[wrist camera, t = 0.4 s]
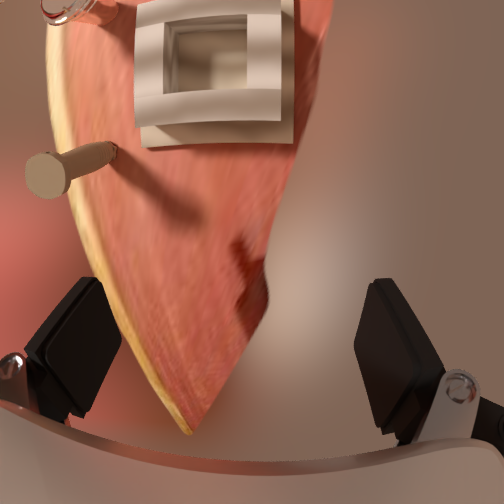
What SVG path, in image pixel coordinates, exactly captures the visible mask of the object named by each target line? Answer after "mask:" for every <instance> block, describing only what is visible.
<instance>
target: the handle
mask: <svg viewBox="0 0 504 504" xmlns="http://www.w3.org/2000/svg"><path fill="white" fill-rule="evenodd" d="M116 150H117V147H116V146H114V145H113V144H112V142H111V141H104V142H94V143H90V144H86V145H83V146H80V147H78V148H76V149H73V150H71V151H68V152H66V153H63V154H61V155H60V154H59V153H57V152H53V151H52V152H42V153H39V154H37V155H35V156H33V157H32V158H30V159H29V160H28V161H27V164H26V169H25V178H26V183H27V186H28V189H29V190H31V191H32V192H33V193H34V194H35V195H36V196H38V197H41V198H44V199H53V198H56V197H58V196H60V195H62V194H64V193H65V192H67V191H68V189H69V187H70V184H71V180H72V179H75V178H78V177H80V176H83V175H86V174H89V173H92V172H94V171H96V170H98V169H100V168H102V167H104V166H105V165H107V164H108V163H109V162H110V161H111V160H114V159H115V158H116V156H117V155H116Z"/></svg>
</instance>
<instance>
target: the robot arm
mask: <svg viewBox="0 0 504 504" xmlns="http://www.w3.org/2000/svg"><path fill="white" fill-rule="evenodd" d="M121 342H122V338H121V334H120V332H119V329H118V326H117V324H116V321H115V319H114V316H113V313H112V311H111V308H110V305H109V302H108V299H107V297H106V294H105V291H104V288H103V285H102V283H101V282H100V281H99V280H98V279H97V278H96V277H82V278H81V279H79V281H78V282H77V283H76V284H75V285H74V286H73V287H72V289H71V290H70V291H69V292H68V293H67V295H66V296H65V297H64V298H63V299H62V300H61V302H60V303H59V304H58V305H57V306H56V308H55V309H54V310H53V311H52V313H51V314H50V315H49V316H48V318H47V319H46V320H45V321H44V323H43V324H42V325H41V326H40V328H39V329H38V330H37V332H36V333H35V334H34V336H33V337H32V338H31V340H30V341H29V342H28V344H27V345H26V346H25V348H24V350H25V352H26V353H27V355H28V357H27V358H26V359H25V357H24V356H23V354H21V353H19V352H13V353H10V354H8V355H6V356H4V357H3V358H2V359H1V360H0V504H504V407H502V406H500V405H498V404H496V403H493V402H491V401H489V400H487V399H485V398H483V397H481V396H480V386H479V383H478V382H477V380H476V379H475V377H474V376H473V375H471V374H470V373H469V372H466V371H465V370H461V369H453V370H450V371H447V372H446V371H445V368H444V367H443V366H444V365H443V363H442V361H441V360H440V358H439V356H438V354H437V352H436V350H435V348H434V347H433V345H432V343H431V341H430V339H429V338H428V336H427V334H426V333H425V331H424V329H423V327H422V326H421V324H420V322H419V321H418V319H417V317H416V316H415V314H414V312H413V311H412V309H411V307H410V306H409V304H408V303H407V301H406V299H405V298H404V296H403V295H402V293H401V292H400V290H399V288H398V287H397V286H396V284H395V283H394V281H393V280H392V279H391V278H381V279H375V280H374V282H373V283H370V284H369V286H368V290H367V295H366V299H365V303H364V307H363V311H362V314H361V318H360V322H359V326H358V329H357V333H356V337H355V340H354V350H355V354H356V357H357V361H358V364H359V367H360V371H361V374H362V377H363V381H364V384H365V388H366V391H367V395H368V399H369V402H370V406H371V410H372V414H373V417H374V421H375V425H376V426H377V427H378V428H379V427H381V431H382V435H385V434H389V433H395V436H396V439H397V441H396V443H395V444H394V446H393V448H389V449H384V450H379V451H374V452H368V453H362V454H357V455H349V456H341V457H334V458H324V459H314V460H300V461H276V462H274V461H273V462H259V461H257V462H256V461H253V462H252V461H231V460H217V459H206V458H197V457H190V456H182V455H176V454H170V453H164V452H158V451H154V450H149V449H144V448H140V447H135V446H131V445H127V444H123V443H119V442H116V441H112V440H108V439H105V438H101V437H98V436H95V435H92V434H89V433H86V432H83V431H80V430H77V429H75V428H72V427H71V425H70V421H69V418H68V414H69V412H70V413H71V414H72V415H74V416H77V417H80V418H83V419H84V416H85V414H86V412H88V411H89V410H90V409H91V407H92V404H93V402H94V400H95V398H96V396H97V393H98V391H99V389H100V387H101V384H102V382H103V380H104V378H105V376H106V374H107V372H108V370H109V368H110V366H111V363H112V361H113V359H114V357H115V355H116V353H117V351H118V349H119V347H120V345H121Z"/></svg>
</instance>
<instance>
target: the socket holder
mask: <svg viewBox="0 0 504 504" xmlns="http://www.w3.org/2000/svg"><path fill="white" fill-rule="evenodd" d="M134 113H135V128H139V127H140V128H141V145H142V148H147V147H157V146H169V145H183V144H203V143H288V144H293V130H294V0H156V1H151V2H147V3H143V4H139V5H137V16H136V29H135V49H134Z"/></svg>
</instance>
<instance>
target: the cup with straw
mask: <svg viewBox="0 0 504 504" xmlns="http://www.w3.org/2000/svg"><path fill="white" fill-rule="evenodd" d="M3 1H5V0H0V4H1V3H2V2H3ZM41 10H42V12H43V17H44V19H45V21H46V22H47V23H49V24H50V25H53V26H59V25H63V24H65V23H68V22H73V21H74V22H81V23H87V24H93V25H99V26H102V25H106V24H108V23H109V22H111V21H112V20H113V19H114V18H115V16H116V15H117V13H118V10H119V6H118V4H117V2H115V1H114V0H41Z"/></svg>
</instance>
